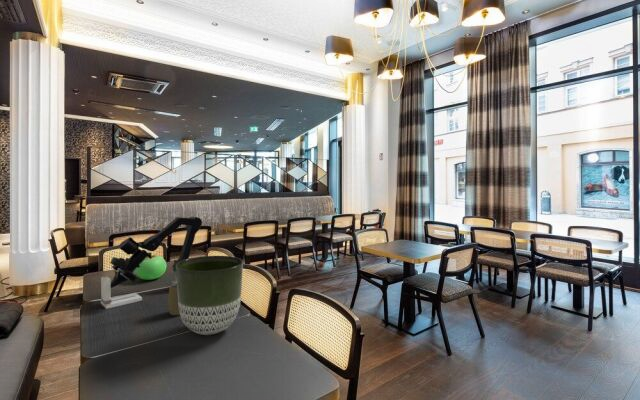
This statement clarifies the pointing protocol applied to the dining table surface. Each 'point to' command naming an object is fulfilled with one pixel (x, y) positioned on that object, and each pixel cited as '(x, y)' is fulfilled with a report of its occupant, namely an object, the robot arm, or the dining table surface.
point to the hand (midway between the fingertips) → (109, 287)
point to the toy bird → (151, 268)
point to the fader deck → (122, 300)
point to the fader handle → (106, 290)
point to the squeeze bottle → (173, 299)
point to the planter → (209, 292)
